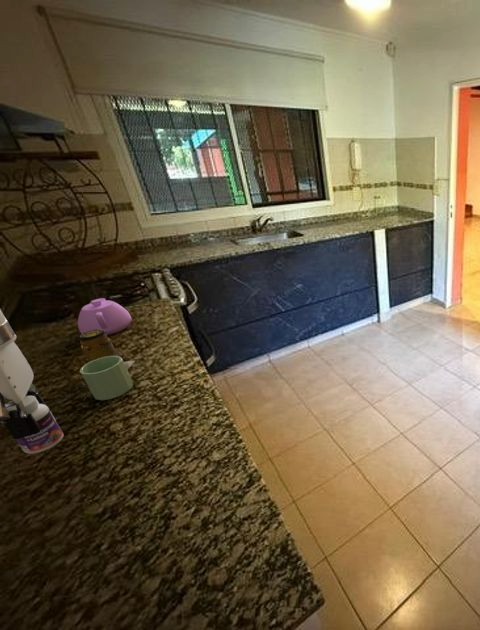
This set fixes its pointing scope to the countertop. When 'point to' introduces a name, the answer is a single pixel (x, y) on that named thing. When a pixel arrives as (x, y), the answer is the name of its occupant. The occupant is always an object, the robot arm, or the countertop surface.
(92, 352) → the condiment
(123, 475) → the countertop surface
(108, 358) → the mug
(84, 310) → the teapot
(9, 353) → the robot arm
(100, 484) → the countertop surface
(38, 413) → the pill bottle
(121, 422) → the countertop surface
